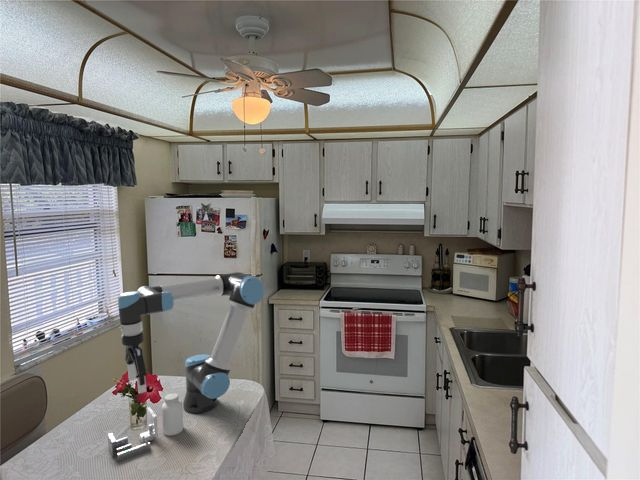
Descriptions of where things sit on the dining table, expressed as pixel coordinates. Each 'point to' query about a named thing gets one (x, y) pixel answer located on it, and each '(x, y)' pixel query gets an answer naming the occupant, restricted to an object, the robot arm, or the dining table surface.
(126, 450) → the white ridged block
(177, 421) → the pill bottle
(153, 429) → the white l-shaped bracket
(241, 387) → the dining table surface
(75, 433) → the dining table surface
